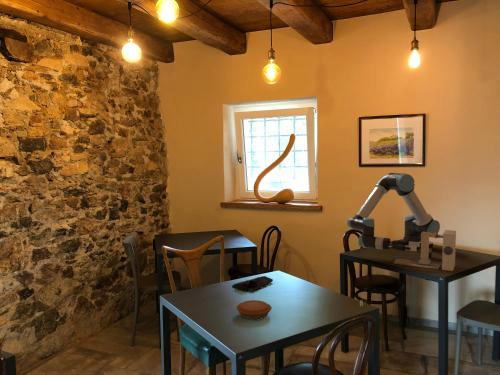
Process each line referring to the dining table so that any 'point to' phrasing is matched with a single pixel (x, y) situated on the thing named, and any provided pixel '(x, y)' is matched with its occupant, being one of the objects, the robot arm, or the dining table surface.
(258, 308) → the pie
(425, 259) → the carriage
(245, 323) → the dining table surface
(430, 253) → the coffee mug
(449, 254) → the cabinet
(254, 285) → the dark slate chunk
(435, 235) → the gauge plunger
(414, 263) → the rail bed
